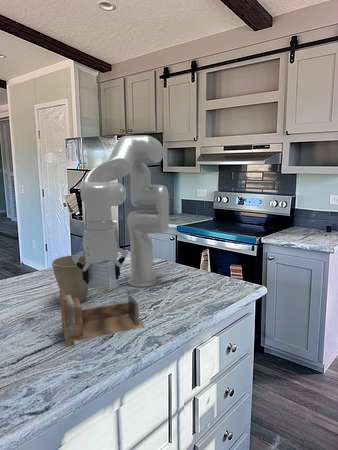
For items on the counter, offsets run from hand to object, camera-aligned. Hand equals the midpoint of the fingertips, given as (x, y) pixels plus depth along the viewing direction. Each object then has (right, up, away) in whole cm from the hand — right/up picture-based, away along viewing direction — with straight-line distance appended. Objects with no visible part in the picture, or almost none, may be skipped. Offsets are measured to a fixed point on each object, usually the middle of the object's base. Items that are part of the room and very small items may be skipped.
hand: (101, 280), depth 110 cm
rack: (0, -16, +3) cm, 16 cm away
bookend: (+9, -14, +6) cm, 18 cm away
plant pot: (-15, -12, +26) cm, 33 cm away
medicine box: (0, -2, +1) cm, 3 cm away
